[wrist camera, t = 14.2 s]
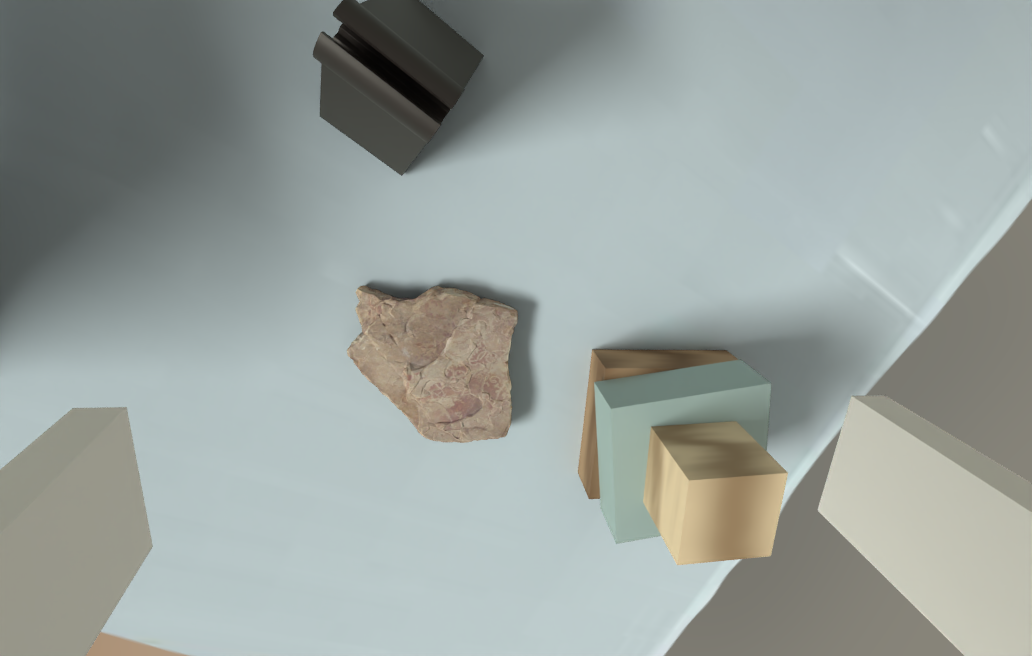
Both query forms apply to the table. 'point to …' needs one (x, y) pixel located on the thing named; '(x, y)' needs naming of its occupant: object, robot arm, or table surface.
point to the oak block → (712, 492)
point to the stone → (439, 360)
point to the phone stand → (391, 76)
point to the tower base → (627, 365)
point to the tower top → (663, 402)
